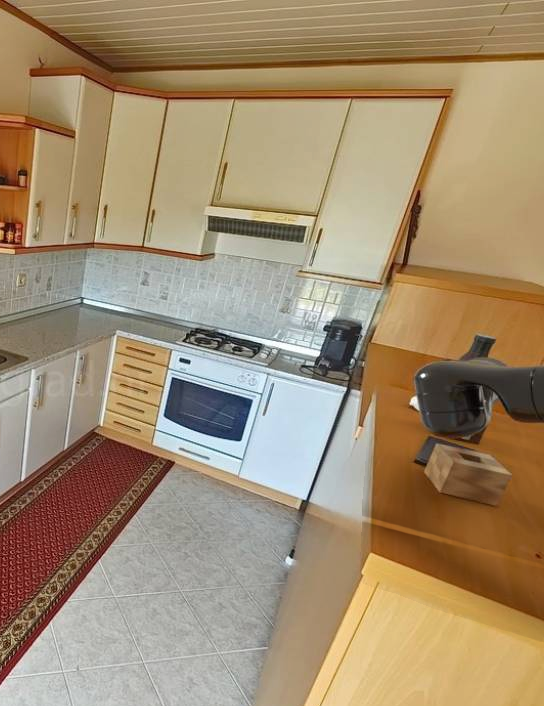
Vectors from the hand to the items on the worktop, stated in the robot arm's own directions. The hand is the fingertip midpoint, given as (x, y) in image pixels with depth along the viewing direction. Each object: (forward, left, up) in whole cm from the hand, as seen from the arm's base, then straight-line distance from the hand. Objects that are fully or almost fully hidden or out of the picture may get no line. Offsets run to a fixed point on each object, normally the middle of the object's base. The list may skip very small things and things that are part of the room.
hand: (498, 370), depth 88 cm
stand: (+3, +11, -20) cm, 23 cm away
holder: (-6, -21, -20) cm, 29 cm away
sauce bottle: (-14, -44, -20) cm, 50 cm away
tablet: (-1, -3, -20) cm, 20 cm away
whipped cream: (-6, -36, -20) cm, 42 cm away
